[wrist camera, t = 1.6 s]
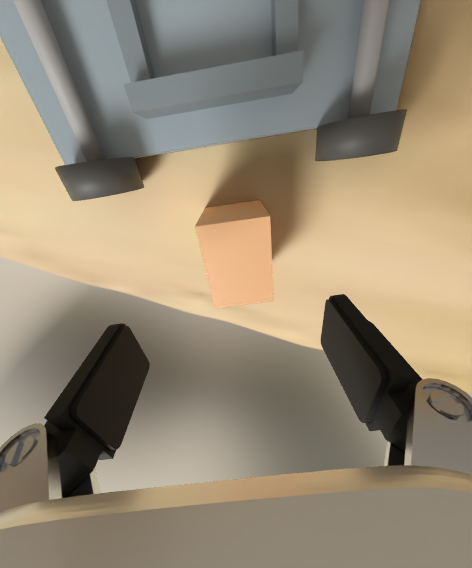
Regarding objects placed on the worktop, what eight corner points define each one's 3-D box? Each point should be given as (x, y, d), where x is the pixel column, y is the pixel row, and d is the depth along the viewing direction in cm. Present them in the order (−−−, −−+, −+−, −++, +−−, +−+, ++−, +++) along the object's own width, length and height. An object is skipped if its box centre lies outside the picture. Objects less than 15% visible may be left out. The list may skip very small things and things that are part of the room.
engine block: (259, 199, 18) (270, 216, 13) (264, 267, 22) (273, 301, 17) (205, 207, 18) (194, 226, 13) (218, 273, 22) (214, 308, 17)
